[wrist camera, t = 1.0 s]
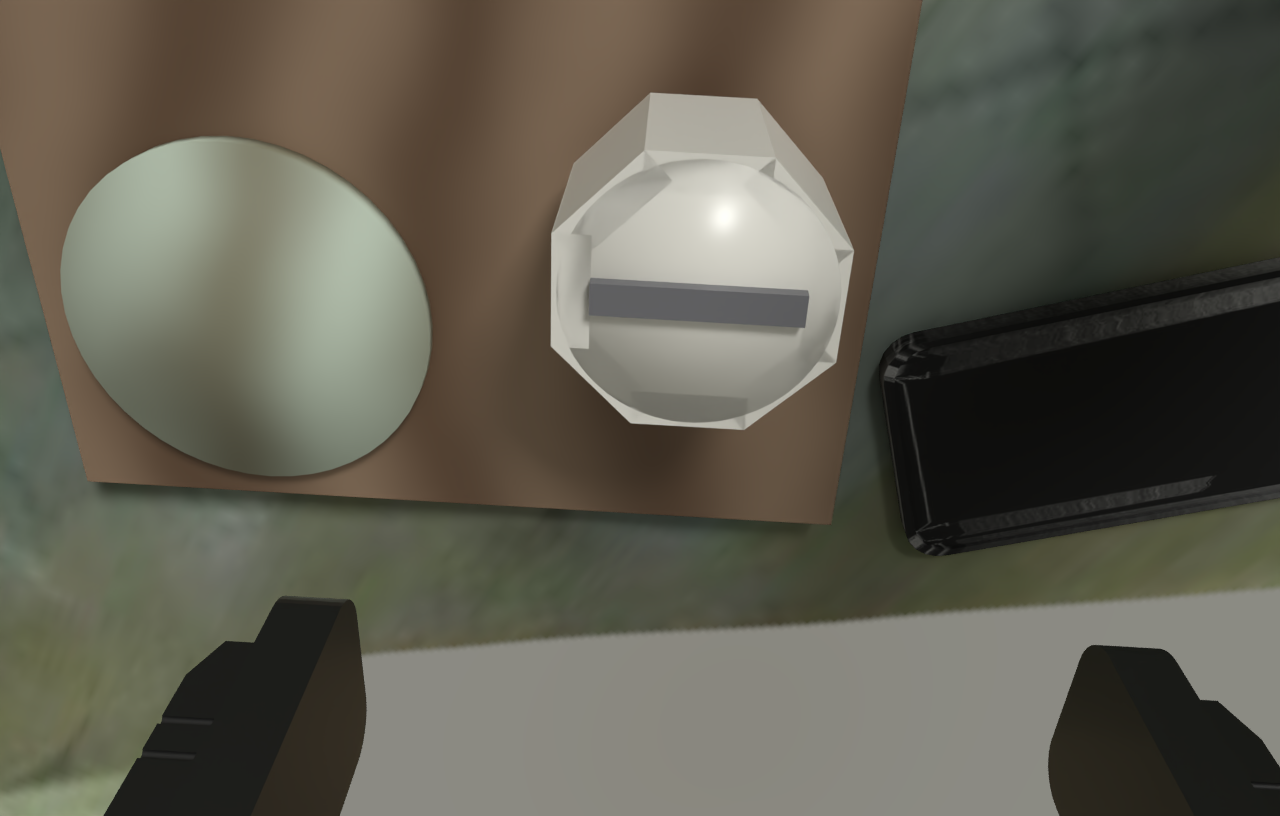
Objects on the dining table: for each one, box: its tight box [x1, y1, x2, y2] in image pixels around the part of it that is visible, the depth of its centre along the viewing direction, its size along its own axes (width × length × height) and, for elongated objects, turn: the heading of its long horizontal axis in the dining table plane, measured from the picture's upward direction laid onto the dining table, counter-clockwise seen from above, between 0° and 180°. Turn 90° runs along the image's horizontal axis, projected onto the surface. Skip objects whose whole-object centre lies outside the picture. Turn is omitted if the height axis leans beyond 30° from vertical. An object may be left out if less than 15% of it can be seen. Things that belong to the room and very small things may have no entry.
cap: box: [551, 93, 854, 430], centre depth 23 cm, size 6×6×5 cm
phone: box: [879, 257, 1280, 556], centre depth 30 cm, size 8×1×15 cm
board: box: [0, 0, 922, 525], centre depth 26 cm, size 23×16×7 cm
